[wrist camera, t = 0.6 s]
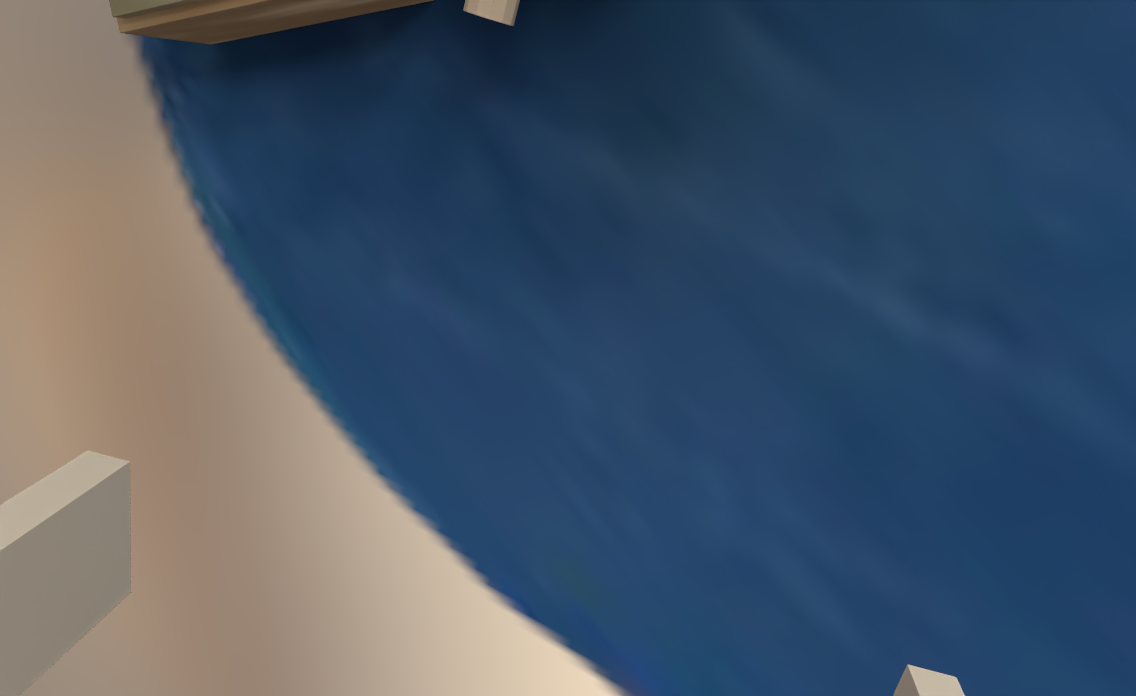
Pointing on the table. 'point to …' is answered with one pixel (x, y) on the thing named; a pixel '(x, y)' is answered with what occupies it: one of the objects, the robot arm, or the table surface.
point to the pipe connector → (494, 9)
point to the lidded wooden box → (234, 16)
